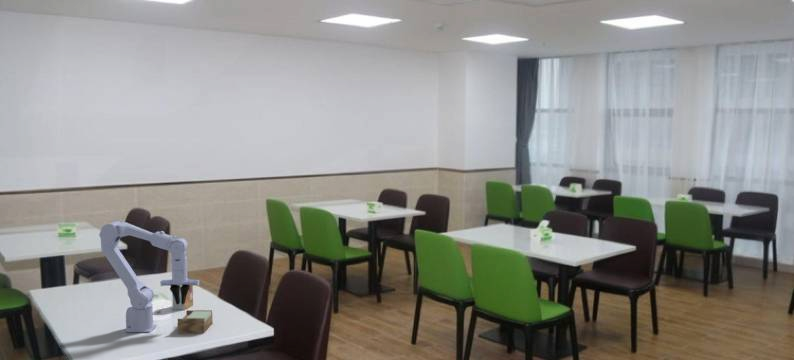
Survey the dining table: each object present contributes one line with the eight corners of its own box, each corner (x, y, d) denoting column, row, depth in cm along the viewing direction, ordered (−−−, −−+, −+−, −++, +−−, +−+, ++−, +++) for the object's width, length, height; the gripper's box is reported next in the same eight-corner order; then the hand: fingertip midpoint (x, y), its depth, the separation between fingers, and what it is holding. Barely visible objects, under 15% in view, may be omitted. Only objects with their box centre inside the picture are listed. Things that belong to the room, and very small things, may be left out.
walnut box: (177, 333, 253) (177, 319, 253) (187, 323, 265) (187, 310, 265) (204, 333, 253) (203, 319, 253) (212, 323, 265) (212, 310, 265)
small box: (184, 310, 283) (183, 286, 282) (172, 309, 285) (171, 285, 284) (193, 305, 291) (192, 281, 290) (182, 304, 292) (181, 281, 291)
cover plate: (186, 321, 254) (186, 318, 254) (193, 314, 263) (193, 311, 263) (204, 321, 254) (204, 318, 254) (211, 314, 263) (211, 311, 263)
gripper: (201, 267, 261) (202, 300, 262) (164, 267, 261) (165, 300, 262) (195, 271, 254) (197, 305, 255) (158, 271, 254) (159, 305, 255)
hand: (180, 303), depth 258 cm, fingers closed
